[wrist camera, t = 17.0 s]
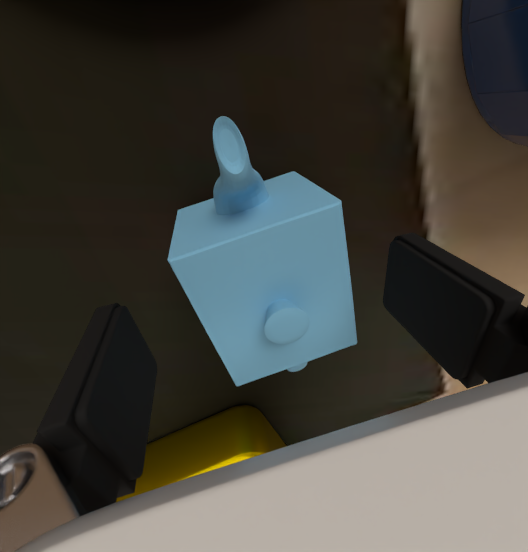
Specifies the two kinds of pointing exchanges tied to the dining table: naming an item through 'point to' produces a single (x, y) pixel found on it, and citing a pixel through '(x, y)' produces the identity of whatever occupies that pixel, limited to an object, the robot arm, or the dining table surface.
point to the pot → (498, 63)
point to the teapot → (265, 266)
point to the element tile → (206, 447)
